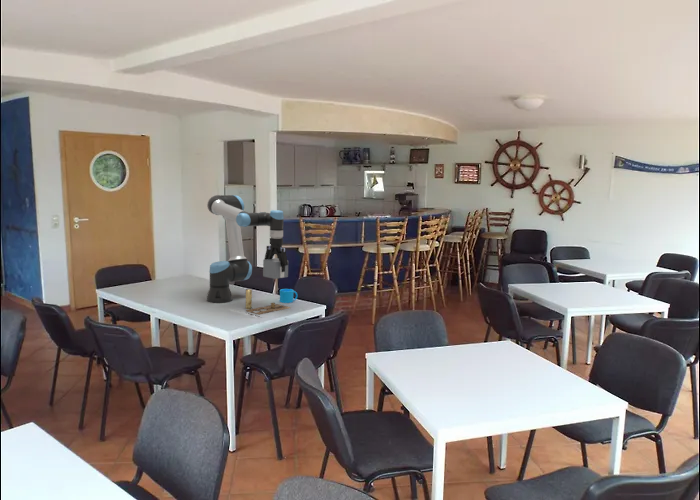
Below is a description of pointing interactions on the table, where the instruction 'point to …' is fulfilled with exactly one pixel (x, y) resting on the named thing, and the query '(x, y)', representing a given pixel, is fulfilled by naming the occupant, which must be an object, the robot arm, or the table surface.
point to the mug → (287, 295)
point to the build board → (259, 310)
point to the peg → (248, 299)
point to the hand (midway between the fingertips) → (275, 276)
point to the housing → (273, 268)
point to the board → (276, 307)
